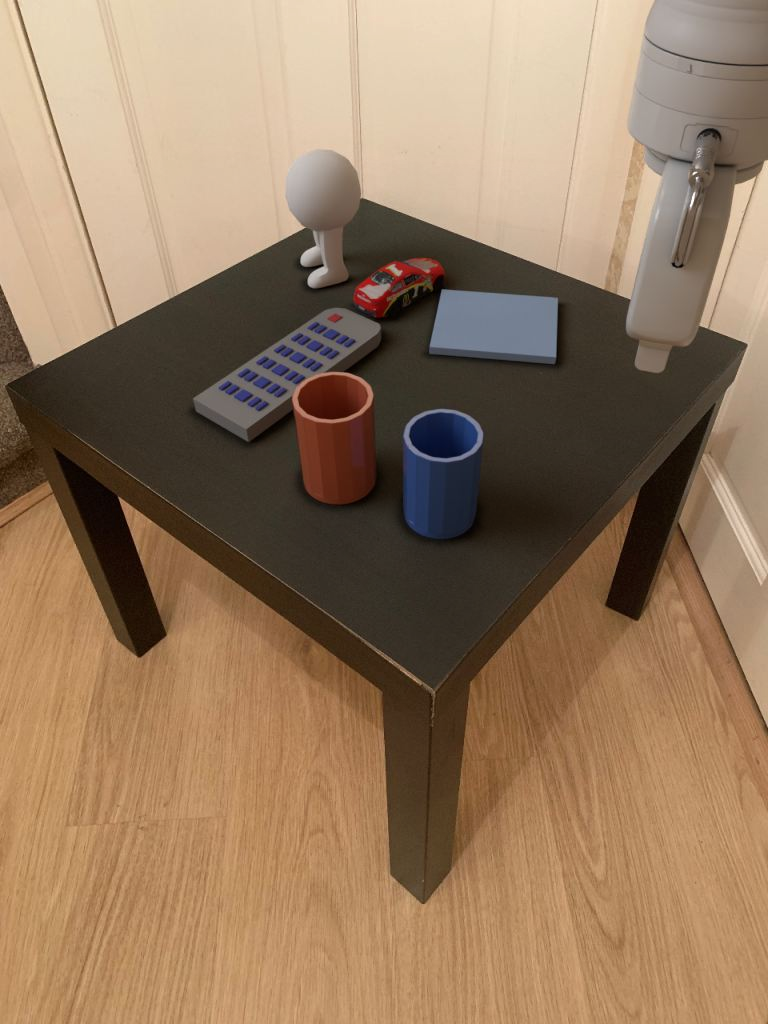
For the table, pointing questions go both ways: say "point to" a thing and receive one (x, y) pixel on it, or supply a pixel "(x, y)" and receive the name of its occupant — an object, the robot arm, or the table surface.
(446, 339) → the blue mat
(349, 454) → the terracotta cup
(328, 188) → the toy character
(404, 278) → the race car
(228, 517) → the table surface
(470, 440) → the blue cup
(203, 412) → the remote control
